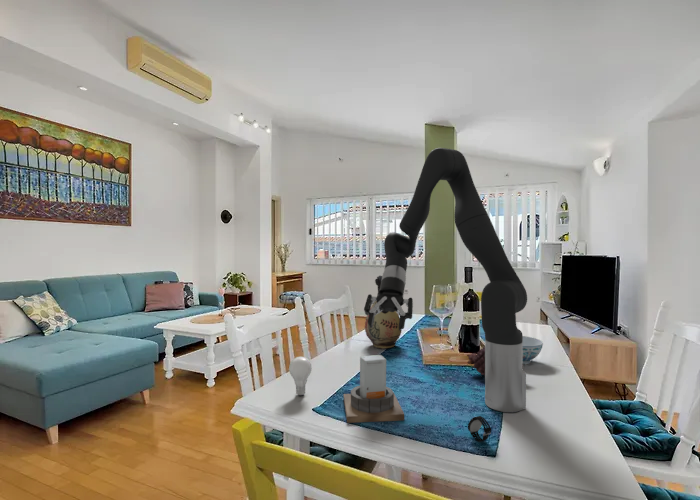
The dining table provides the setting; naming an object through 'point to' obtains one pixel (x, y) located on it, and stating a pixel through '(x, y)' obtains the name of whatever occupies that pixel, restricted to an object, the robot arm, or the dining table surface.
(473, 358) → the pine cone
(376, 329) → the ceramic jug
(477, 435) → the smartwatch
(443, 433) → the dining table surface
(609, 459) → the dining table surface
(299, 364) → the lightbulb
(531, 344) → the chinaware
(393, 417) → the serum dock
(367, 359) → the skincare box
